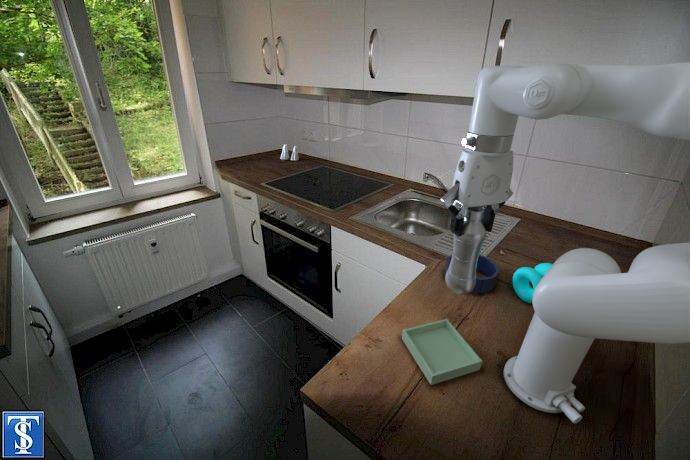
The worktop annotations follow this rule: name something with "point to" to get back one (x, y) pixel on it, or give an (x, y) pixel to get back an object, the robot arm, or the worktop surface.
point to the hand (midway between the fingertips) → (470, 230)
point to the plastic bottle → (466, 252)
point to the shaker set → (286, 155)
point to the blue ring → (487, 268)
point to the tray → (440, 351)
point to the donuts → (524, 276)
